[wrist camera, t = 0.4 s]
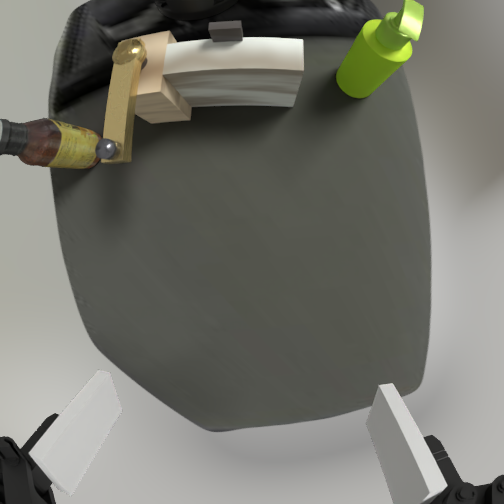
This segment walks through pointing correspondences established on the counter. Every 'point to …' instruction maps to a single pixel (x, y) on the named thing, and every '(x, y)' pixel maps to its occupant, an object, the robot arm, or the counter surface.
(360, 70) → the soap dispenser
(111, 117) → the swing bar
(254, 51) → the door frame
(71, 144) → the sauce bottle
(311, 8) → the counter surface
